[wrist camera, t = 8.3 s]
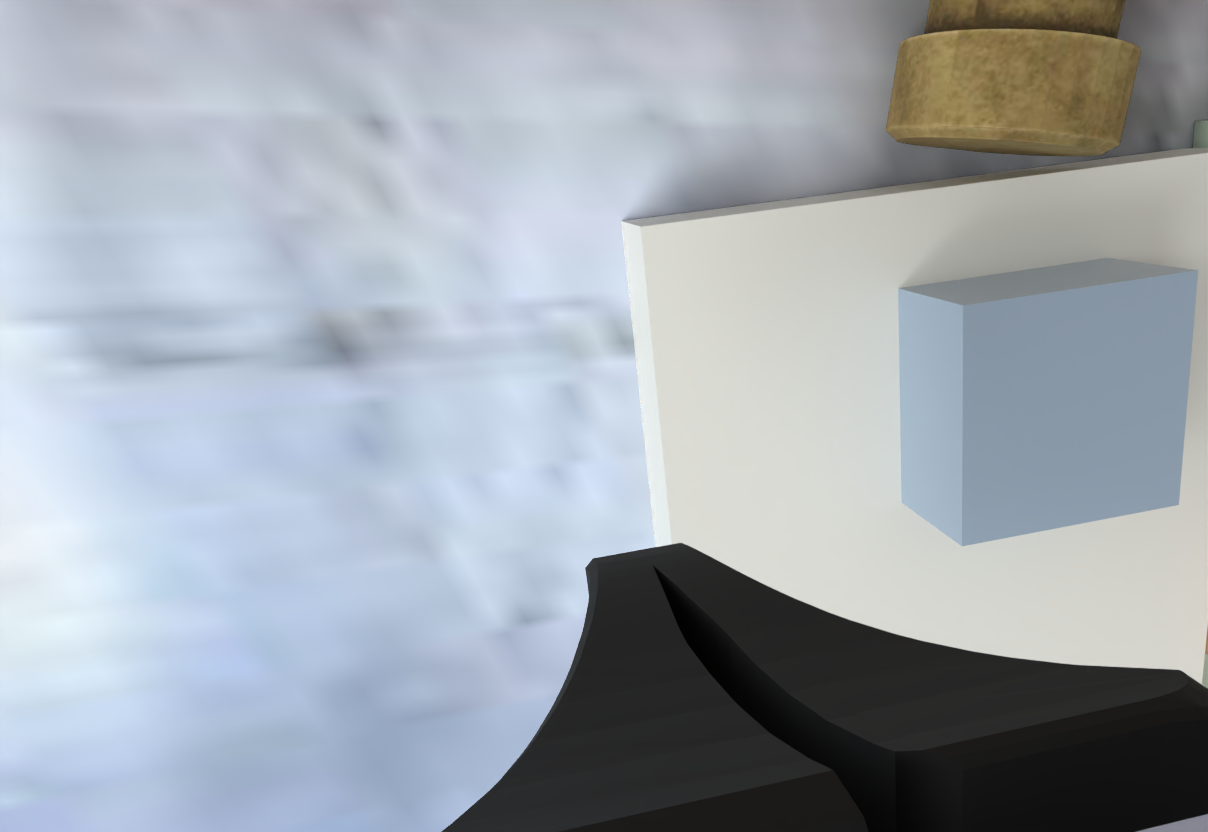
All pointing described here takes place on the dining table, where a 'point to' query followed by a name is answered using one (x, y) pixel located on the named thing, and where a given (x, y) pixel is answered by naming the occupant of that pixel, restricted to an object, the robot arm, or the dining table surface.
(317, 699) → the dining table surface
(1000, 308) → the tile slate
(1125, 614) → the board
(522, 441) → the dining table surface
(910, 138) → the gavel
